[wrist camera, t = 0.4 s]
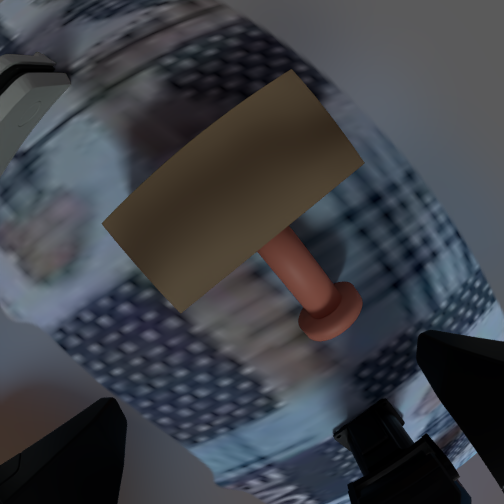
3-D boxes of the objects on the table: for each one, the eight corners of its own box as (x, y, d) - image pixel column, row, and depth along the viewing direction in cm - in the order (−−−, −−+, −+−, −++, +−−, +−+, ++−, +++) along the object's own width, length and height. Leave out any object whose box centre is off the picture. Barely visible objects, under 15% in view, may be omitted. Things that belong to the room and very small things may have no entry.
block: (327, 168, 19) (364, 163, 14) (190, 279, 20) (180, 313, 14) (272, 99, 18) (291, 68, 12) (133, 213, 19) (101, 223, 13)
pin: (346, 284, 21) (373, 306, 17) (299, 322, 21) (317, 352, 17) (266, 178, 19) (280, 175, 15) (214, 221, 19) (211, 231, 15)
